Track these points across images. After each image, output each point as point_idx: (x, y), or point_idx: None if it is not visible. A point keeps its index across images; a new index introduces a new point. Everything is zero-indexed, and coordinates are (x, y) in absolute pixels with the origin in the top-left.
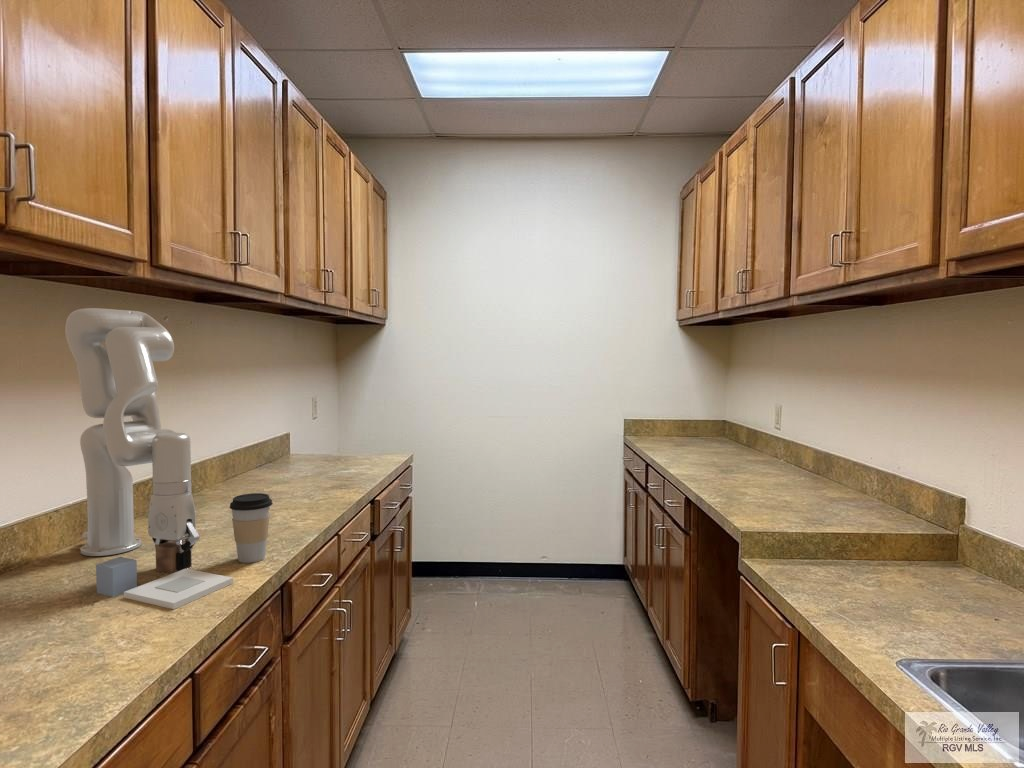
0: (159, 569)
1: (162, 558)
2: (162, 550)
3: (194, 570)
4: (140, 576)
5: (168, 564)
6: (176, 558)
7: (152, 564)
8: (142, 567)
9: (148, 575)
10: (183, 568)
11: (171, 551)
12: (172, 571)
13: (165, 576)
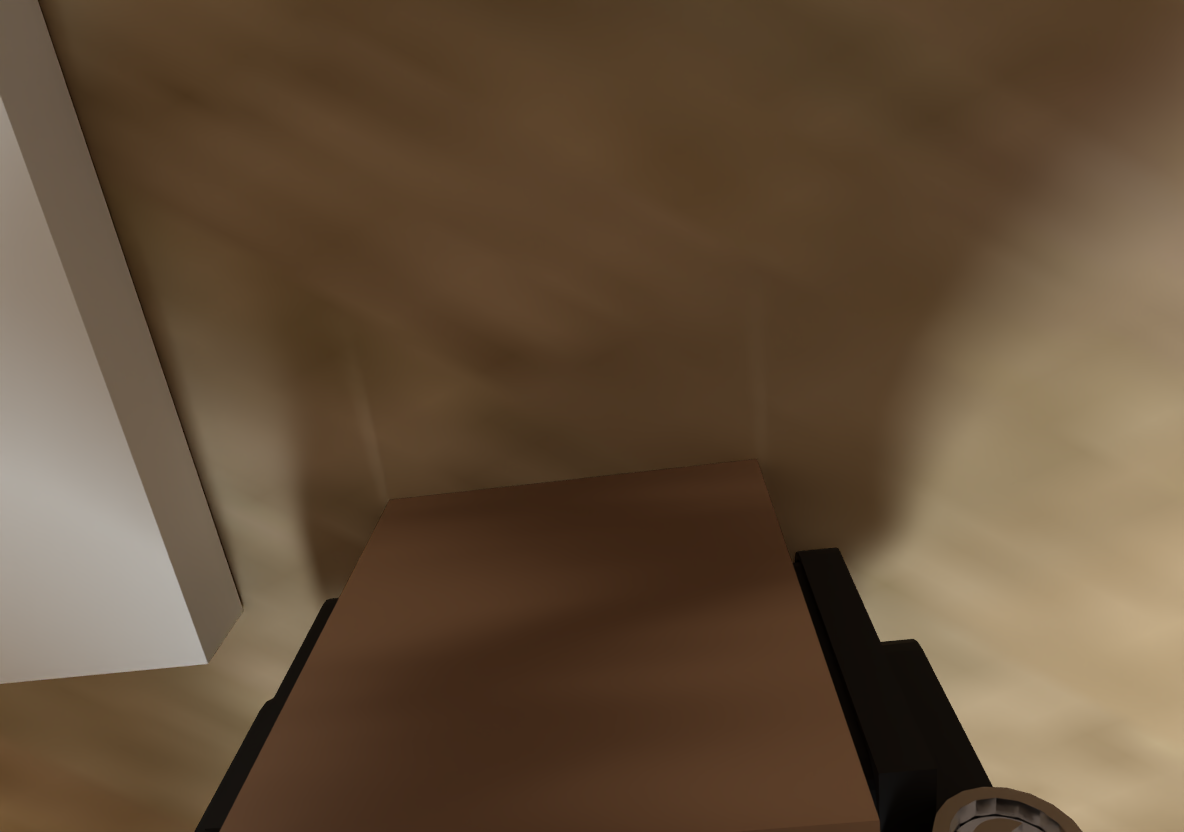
0: (679, 490)
1: (585, 620)
2: (571, 756)
3: (4, 674)
4: (770, 196)
5: (428, 579)
6: None
7: (1118, 597)
8: (1157, 452)
9: (689, 296)
10: None
11: (235, 800)
12: (383, 534)
13: (58, 293)
